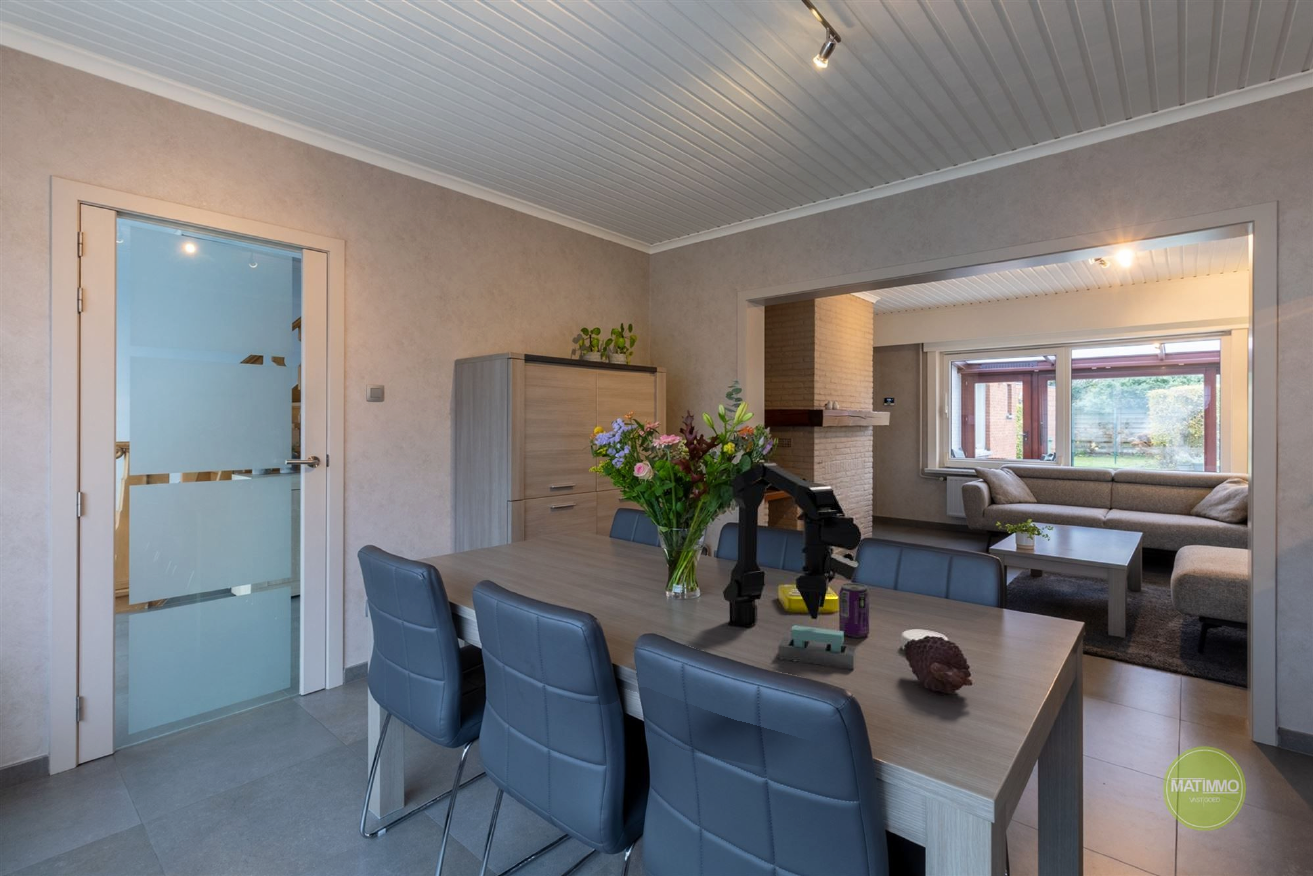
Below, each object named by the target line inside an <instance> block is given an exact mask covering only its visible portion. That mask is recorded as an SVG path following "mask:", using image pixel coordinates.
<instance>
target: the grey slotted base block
mask: <svg viewBox="0 0 1313 876" xmlns="http://www.w3.org/2000/svg"><path fill="white" fill-rule="evenodd" d="M777 652H778V654H777V655H778V658H783V659H788V660H787V661H789V660H796V661H801V662H800V663H803V662H808V663H807V664H810V663H813V664H812V665H817V664H821V665H820V666H824V665H826V666H825V667H831V666H834V667H833V668H839V669H844V668H846V670H851V669H853V670H855V666H856V661H857V646H856V645H849V644H844V643H843V644H842V645H841V653H839V652H832V651H831V643H824V642H816V641H809V640H804V648H802V647H795V646H794V639H793V638H791V637H788V636H783V638H782V639H781V641H780V642H779V644H778V651H777ZM778 658H777V659H778ZM796 661H795V662H796ZM853 670H852V671H853Z"/></svg>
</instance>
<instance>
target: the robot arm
mask: <svg viewBox="0 0 1313 876" xmlns="http://www.w3.org/2000/svg"><path fill="white" fill-rule="evenodd" d="M770 486H773V487H775V488H777V489H778V490H780V491H782V492H783V493H785V494H787V495H788V496H790V497H792V499H793V501H794V502H793V503H794V504H795V505H796V506H797V507H798V508H799V509H800V510H801V511H802V512H801V513H800V514H799V515H798V516H797V517H796V519H797V520H798V521H802V522H803V547H802V548H801V549H802V550H801V553H803V566H802V572H801V573H800V574H799V575H798V576H797V578H795V585H796V588H797V589H798V591H799V592H800V594H801V596H802V598H803V600H804V602H805V605H806V607H807V609H808V611H809V612H808V613H809V616H810V617H811V619H813V620H817V619H818V616H819V612H818V611H819V607H823V606H824V601H825V597H826V592H827V590H828V587H829V583H831V582H832V581H833V580H834V579H835V577H836V575H839V576H841V577H843V578H845V579H846V580H849V581H852V580H853V579H854V577H855V574H856V572H857V568H858V566H859V563H858V562H857V560H856V561H855V558H854V554H853V553H851V552H845V553H844V554H843V555H842V554H837V553H834V548H837V549H842V550H846V551H854V550H856V549H857V547H859V545H860V543H861V540H862V532H861V530H860V528H859V526H858V525H857V524H856V523H855V522H854V521H855V520H854V516H846V514H845V512H844V511H843V510H844V509H843V508H842V507H841V504H840V502H839V501H838V499H837V497H836V495H835V493H834V490H833V488H832V487H831V486H829V485H827V484H822V483H818V482H812V481H807V480H804V479H802V478H801V477H799V476H797V475H796V474H793V473H792V472H790V471H788V470H786V469H784V468H782V467H780V466H779V465H778V464H777V463H775V462H772V461H770V462H768V461H767V462H759V463H758V464H756V465H755V466H753V467H751V468H749V469H747V470H745V471H743V472H741V473H739V474H738V473H737V474H736V475H735V476H734V477H733V478H732V481H731V488H732V489H731V490H732V497H733V499H734V502H735V503H736V505H737V507H738V524H737V525H738V527H737V528H738V533H737V562H736V564H735V566H734V567H733V569H732V571H730V572H731V573H730V580H729V583H728V584H727V586H726V587H725V588H724V590H723V591H722V593H723V598H724V600H725V601H727V602H729V606H728V607H729V620H728V621H727V625H729V626H736V627H743V628H744V627H745V628H753V626H754V625H755V623H756V622H758V605H757V604H756V601H757V600H761V599H762V598H761V597H762V595H763V594H762V593H763V591H764V587H766V584H765V575H766V574H765V571H764V570H762V569H761V568H760V566H759V564H758V532H759V531H758V529H759V524H758V523H759V508H760V506H761V504H762V503H763V501H764V499H765V496H766V489H767V488H769V487H770Z"/></svg>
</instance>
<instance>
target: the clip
mask: <svg viewBox="0 0 1313 876" xmlns="http://www.w3.org/2000/svg"><path fill="white" fill-rule="evenodd" d="M844 636H845V634H844V631H840V630H836V629H829V628H819V627H811V626H802V625H796V624H795V625H793V626H792V627H791V629H790V638H793V639H794V646H795V647H802V648H804V640H809V641H816V642H824V643H831V651H832V652H839V653H841V645H842V644H843V645H844V641H845V637H844Z"/></svg>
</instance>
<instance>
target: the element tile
mask: <svg viewBox="0 0 1313 876" xmlns="http://www.w3.org/2000/svg"><path fill="white" fill-rule="evenodd" d="M778 601H779V602H780V604H781V606H782V607H783V609H784V611H786V612H789V613H809V611H808V609H807V607H806V605H805V602H804V600H803V598H802V596H801V594H800V592H799V591H798V589H797V588H796V584H779V585H778ZM838 610H839V595H837V594H836V593H835V592H834V590H832V589H831V587H830V586H828V590H827V592H826V597H825V601H824V606H823V607H819V611H818V613H835V612H834V611H838ZM838 612H839V611H838Z"/></svg>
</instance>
